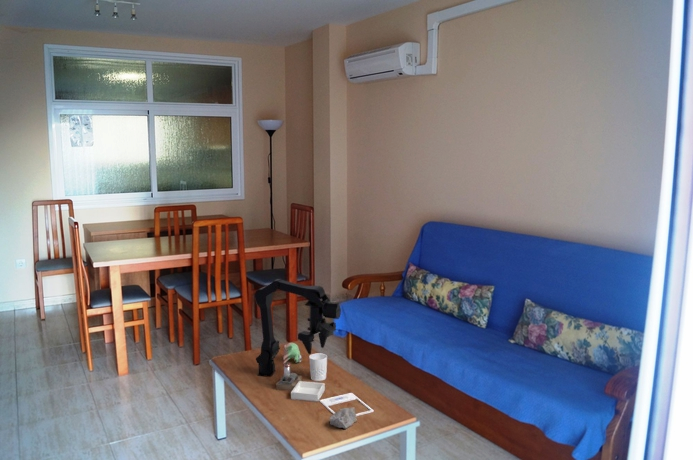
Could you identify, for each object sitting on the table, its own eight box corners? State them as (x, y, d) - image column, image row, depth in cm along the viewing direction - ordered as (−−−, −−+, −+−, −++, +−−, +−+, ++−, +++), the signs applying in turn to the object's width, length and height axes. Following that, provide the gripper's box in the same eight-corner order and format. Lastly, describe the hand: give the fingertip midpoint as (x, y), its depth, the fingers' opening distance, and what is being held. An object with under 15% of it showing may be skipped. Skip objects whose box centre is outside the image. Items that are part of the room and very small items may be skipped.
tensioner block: (284, 379, 247) (284, 370, 246) (301, 381, 245) (301, 372, 244) (276, 389, 237) (276, 380, 236) (294, 391, 235) (294, 382, 234)
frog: (281, 355, 259) (300, 357, 259) (285, 336, 266) (304, 338, 266) (281, 367, 268) (300, 369, 268) (285, 349, 275) (303, 351, 275)
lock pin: (282, 383, 237) (282, 365, 236) (284, 380, 240) (284, 362, 239) (289, 384, 236) (289, 365, 235) (292, 381, 239) (291, 363, 238)
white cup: (328, 374, 252) (328, 353, 250) (326, 382, 244) (325, 360, 242) (311, 374, 252) (310, 352, 251) (308, 381, 245) (307, 359, 243)
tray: (291, 399, 227) (290, 392, 227) (299, 387, 238) (299, 381, 238) (317, 401, 225) (317, 394, 225) (324, 390, 236) (324, 383, 235)
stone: (326, 424, 207) (326, 409, 206) (345, 416, 214) (345, 401, 213) (341, 432, 201) (341, 416, 200) (360, 423, 208) (360, 408, 207)
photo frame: (351, 392, 232) (373, 410, 217) (351, 394, 233) (373, 412, 217) (319, 399, 226) (339, 418, 210) (319, 402, 226) (339, 421, 210)
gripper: (318, 325, 228) (317, 361, 231) (344, 314, 244) (343, 348, 246) (296, 320, 235) (296, 355, 237) (323, 309, 250) (323, 343, 252)
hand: (316, 350), depth 243 cm, fingers open, 9 cm apart
